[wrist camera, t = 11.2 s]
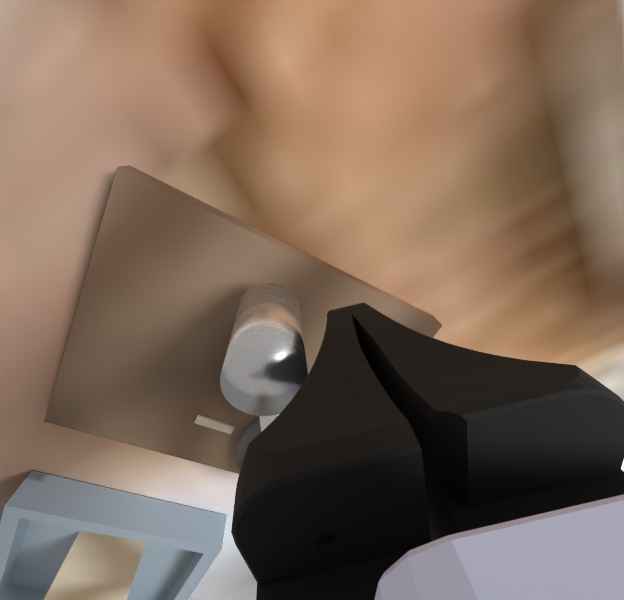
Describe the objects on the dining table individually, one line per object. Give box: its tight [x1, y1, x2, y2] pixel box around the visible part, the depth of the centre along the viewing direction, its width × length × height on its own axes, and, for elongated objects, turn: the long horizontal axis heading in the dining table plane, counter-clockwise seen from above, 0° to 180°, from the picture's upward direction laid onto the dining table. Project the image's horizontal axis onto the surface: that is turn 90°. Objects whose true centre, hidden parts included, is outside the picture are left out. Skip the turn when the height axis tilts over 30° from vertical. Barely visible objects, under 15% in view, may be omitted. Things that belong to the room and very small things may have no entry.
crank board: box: [45, 166, 442, 474], centre depth 16 cm, size 15×13×2 cm
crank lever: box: [220, 283, 308, 432], centre depth 13 cm, size 12×3×5 cm, turn 2°
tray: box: [0, 471, 226, 600], centre depth 21 cm, size 12×12×2 cm
